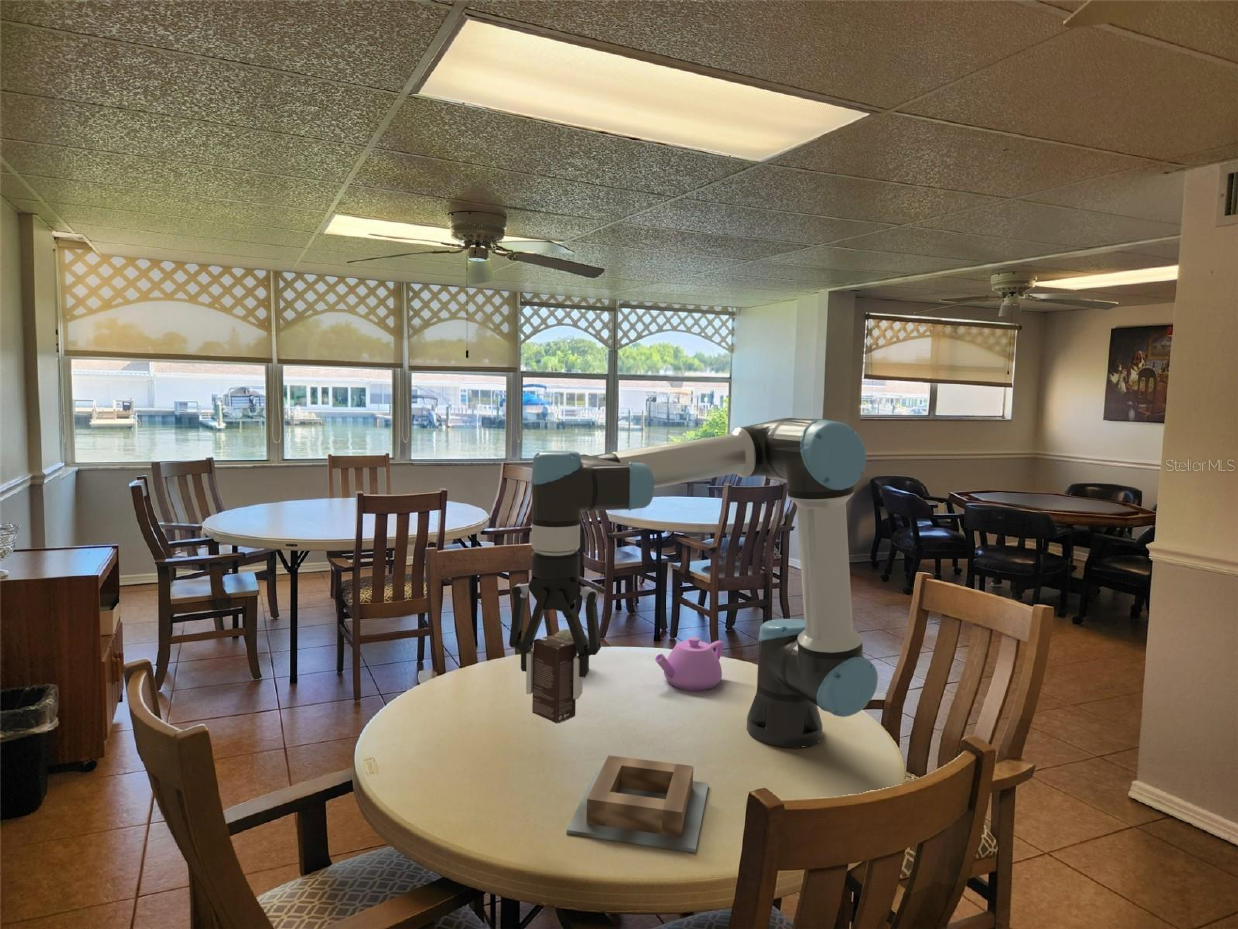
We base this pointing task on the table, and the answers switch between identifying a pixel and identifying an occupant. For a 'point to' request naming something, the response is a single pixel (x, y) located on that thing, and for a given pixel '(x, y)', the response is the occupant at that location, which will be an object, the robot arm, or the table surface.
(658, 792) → the socket
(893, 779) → the table surface
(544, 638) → the box
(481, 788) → the table surface
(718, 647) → the teapot
